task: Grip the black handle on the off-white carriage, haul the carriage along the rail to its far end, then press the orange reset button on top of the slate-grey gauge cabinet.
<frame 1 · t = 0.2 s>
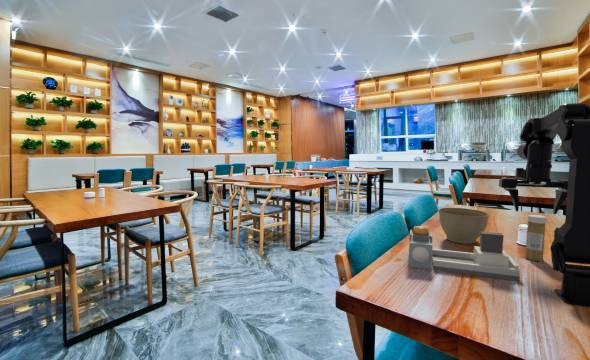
hand: (535, 212, 94), 14 cm above the table, tool pointing down, fingers open, 9 cm apart
sprinkles bottle: (533, 259, 95), on the table
planter bowl: (461, 241, 115), on the table
carriage: (490, 249, 86), point 6 cm above the table, slide at 0.0 cm
gauge cabinet: (419, 261, 93), on the table
rail track: (471, 267, 88), on the table
reset button: (420, 230, 92), point 9 cm above the table, slide at 0.0 cm
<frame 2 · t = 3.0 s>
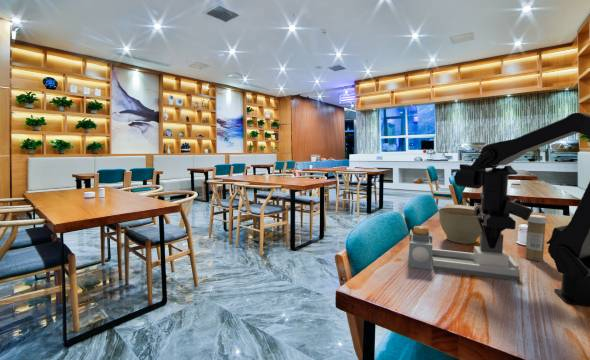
hand: (490, 246, 86), 7 cm above the table, tool pointing down, fingers closed on carriage, 2 cm apart
carriage: (490, 249, 86), point 6 cm above the table, slide at 0.0 cm, touching gripper
everything else where it was.
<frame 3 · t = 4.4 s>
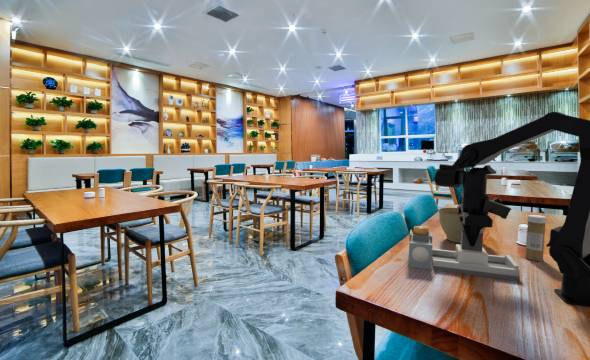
hand: (471, 244, 88), 7 cm above the table, tool pointing down, fingers closed on carriage, 2 cm apart
carriage: (471, 247, 88), point 6 cm above the table, slide at 4.7 cm, touching gripper
everything else where it was.
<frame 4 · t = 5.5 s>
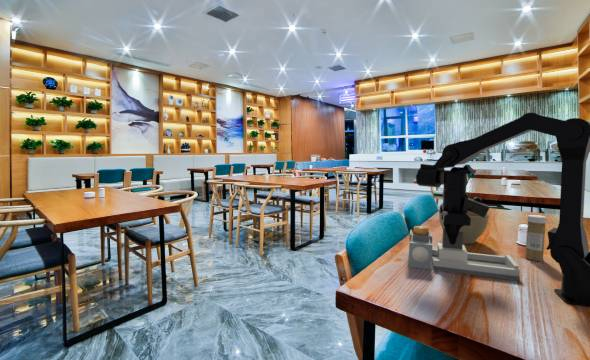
hand: (452, 242, 89), 7 cm above the table, tool pointing down, fingers closed on carriage, 2 cm apart
carriage: (452, 245, 89), point 6 cm above the table, slide at 9.6 cm, touching gripper
everything else where it was.
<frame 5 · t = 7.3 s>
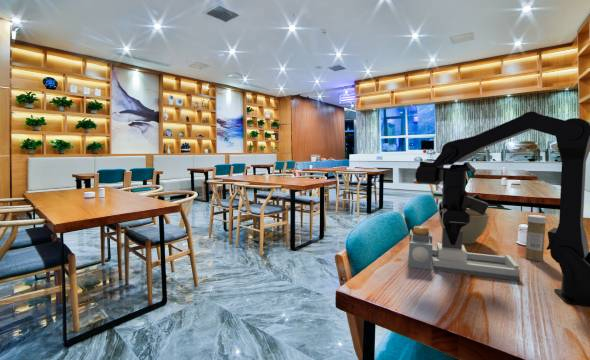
hand: (451, 240, 89), 7 cm above the table, tool pointing down, fingers open, 9 cm apart
carriage: (451, 245, 90), point 6 cm above the table, slide at 9.7 cm
everything else where it was.
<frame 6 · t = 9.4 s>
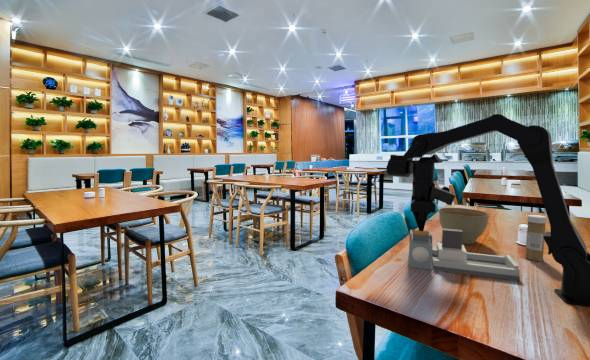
hand: (421, 230, 92), 9 cm above the table, tool pointing down, fingers closed, pressing on reset button
reset button: (420, 233, 92), point 8 cm above the table, slide at 0.9 cm, touching gripper
everything else where it was.
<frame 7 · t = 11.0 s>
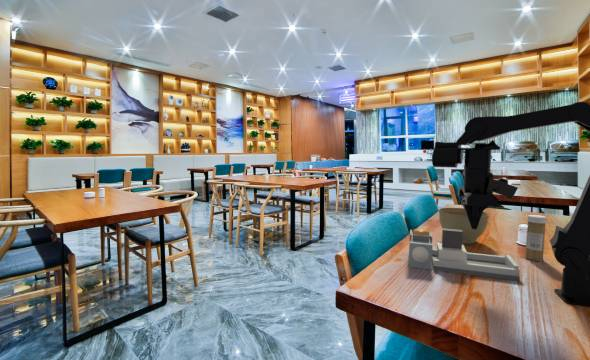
hand: (474, 228, 80), 13 cm above the table, tool pointing down, fingers closed
reset button: (420, 234, 92), point 8 cm above the table, slide at 0.9 cm
everything else where it was.
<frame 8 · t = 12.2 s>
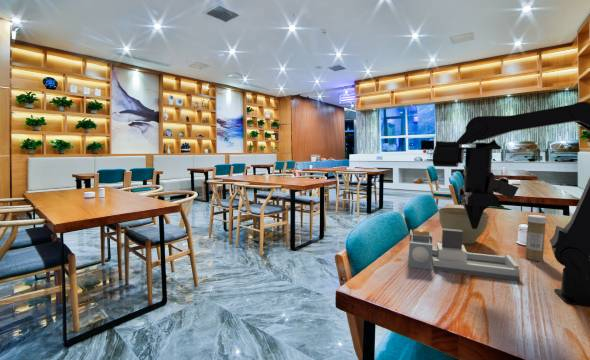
hand: (474, 228, 80), 13 cm above the table, tool pointing down, fingers closed
nothing on the table moved.
at the end: carriage slide at 9.7 cm; reset button slide at 0.9 cm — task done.
